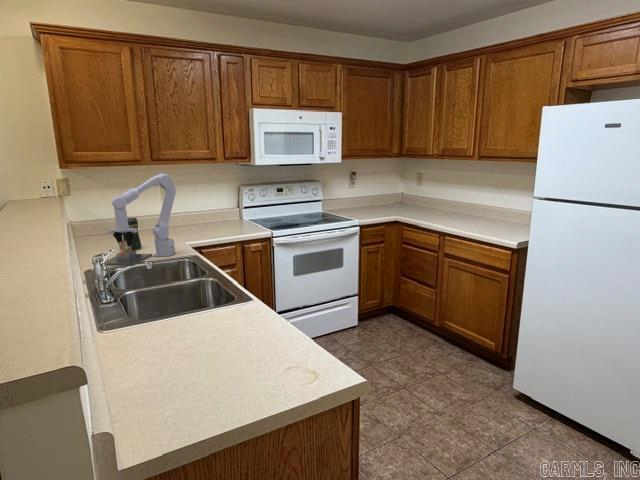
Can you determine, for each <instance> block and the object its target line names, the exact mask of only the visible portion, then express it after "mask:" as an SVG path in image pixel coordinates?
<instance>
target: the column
mask: <svg viewBox="0 0 640 480" xmlns="http://www.w3.org/2000/svg"><path fill="white" fill-rule="evenodd" d="M118 246H119V253H120V254H129V253H131V252H132V251H133V250H132V248H131V246H128V245H127V241H121V242H119V244H118Z"/></svg>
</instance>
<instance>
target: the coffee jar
mask: <svg viewBox="0 0 640 480" xmlns="http://www.w3.org/2000/svg"><path fill="white" fill-rule="evenodd" d="M127 219H128V226H129V228H137V232H136V233H134V235H133V237H132V242H131V248H132V251H137V250H140V249H142V246H143V245H142V242H141V238H140V234H139V230H138V227H139V221H138V219H137V217H127ZM125 233H127V232H123V234H122V240H123V241H127V240H126V237H125V235H124V234H125Z"/></svg>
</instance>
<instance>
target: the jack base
mask: <svg viewBox="0 0 640 480" xmlns="http://www.w3.org/2000/svg"><path fill="white" fill-rule="evenodd" d="M115 255H116V256H113V257H111V258H109V259H106V260H107V261H106V260H105V261H106V263H107V265H106V266H136V265H138V264H140V263H141V262H144V261H145V259H146V260H147V259H150V258H152V257H153V253H138V252H137V250H132V252H131V253H129V254H120V252H117V253H116V254H115ZM143 260H144V261H143Z"/></svg>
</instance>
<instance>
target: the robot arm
mask: <svg viewBox="0 0 640 480" xmlns="http://www.w3.org/2000/svg"><path fill="white" fill-rule="evenodd" d="M152 187H161V188H162V189H163V191H164V192H165V194H164V198H163V200H162V205H161V209H160V213H159V217H158V220H157V222H156V225H155V226H154V228H153V229H152V234H153V235H154V247H155V253H154V254H152V257H169V256H170V257H171V256H172V255H174V254H176V253H177V252H176V247H175V242H174V241H175V240H174V239H173V238H169V234H170V232H169V226H170V225H169V221H170V218H171V213H172V208H173V205H174V202H175V198H176V193H177V190H176V187H175V184H174V179H173V178H172V177H171V176H170V175H169V174H167V173H158V174H157V175H154V176H152V177H150V178H149V179H148V180H146V181H145V182H143V183H142V184H140V185H139V186H138V187H135V188H132V187H131V188H127V189H126V191H124V192H123V193H121V194H118V196H117V197H113V199H112V201H111V206H113V210H114V220H115V227H116V228H114V227H113V228H108V232H109V234H112V236H113V237H114V238H115V240H116V242H117V244H118V245H119V242H121V241H123V232H127V233H125V234H124V235H125V237H126V240H127V245H128V246H131V242H132V237H133V235H134V233H136V232H137V228H129V226H128V219H127V218H128V213H127V212H128V211H127V209H126V207H127V206H128V205H129V204H130V203H132V202H134V201H135V200H137V199H138V198H140V194H141V193H143V192H145V191H147V190H148V189H151V188H152Z"/></svg>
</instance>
